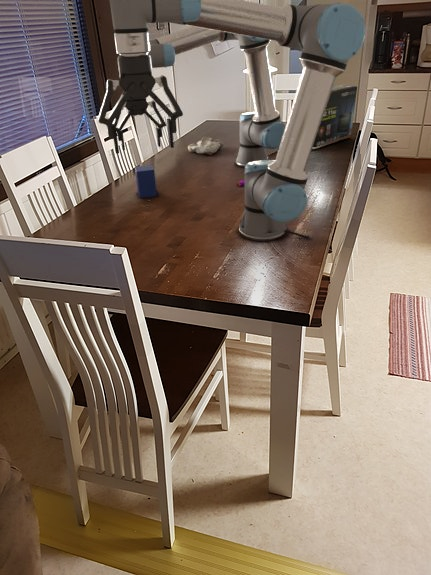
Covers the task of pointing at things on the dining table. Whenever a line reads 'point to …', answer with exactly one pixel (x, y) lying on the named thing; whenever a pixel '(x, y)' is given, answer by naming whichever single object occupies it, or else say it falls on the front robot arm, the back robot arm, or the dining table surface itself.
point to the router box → (337, 115)
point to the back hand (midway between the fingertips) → (141, 147)
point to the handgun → (242, 183)
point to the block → (145, 181)
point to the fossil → (206, 146)
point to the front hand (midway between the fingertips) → (144, 149)
